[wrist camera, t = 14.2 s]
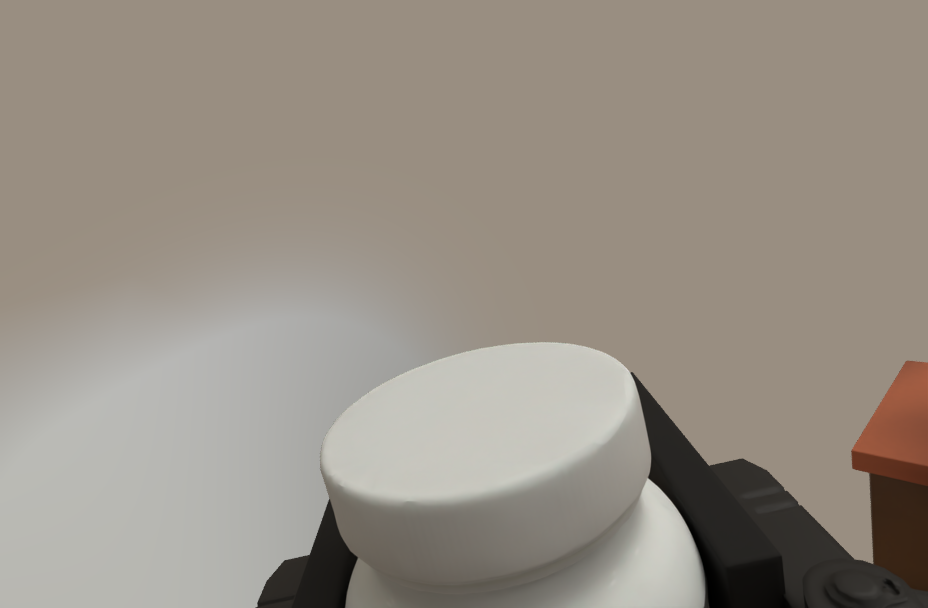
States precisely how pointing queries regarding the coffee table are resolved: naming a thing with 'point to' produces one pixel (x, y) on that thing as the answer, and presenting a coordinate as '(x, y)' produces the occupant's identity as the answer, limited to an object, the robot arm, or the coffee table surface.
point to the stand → (899, 476)
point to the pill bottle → (507, 488)
